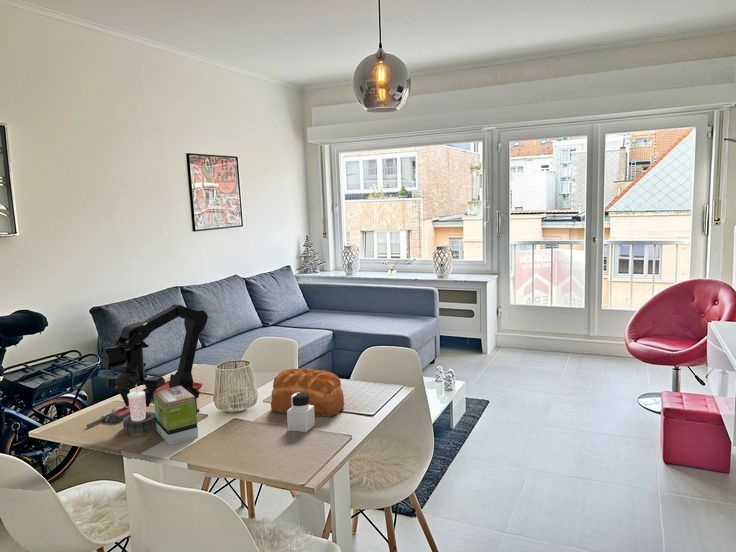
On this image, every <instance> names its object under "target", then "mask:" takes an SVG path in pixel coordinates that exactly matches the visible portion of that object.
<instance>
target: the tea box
mask: <svg viewBox="0 0 736 552" xmlns="http://www.w3.org/2000/svg"><path fill="white" fill-rule="evenodd" d="M153 395H154V398H153V402H154V403H153V405H154V413H155V416H156V427H157V429H156V431H157V433H158V434H159V435H160V436H161V437H162V439H163V440H164V441H165V442H166V443H167V444H168V445H169V446H171V445H175V444H179V443H184V442H187V441H192V440H194V439H197V438H199V430H198V417H197V413H196V402H195V396H194V395H192V394H191V393H190V392H188V391H187V390H186V389H185V388H183V387H182V386H177V387H172V388H168V389H163V390H159V391H153Z"/></svg>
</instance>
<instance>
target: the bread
mask: <svg viewBox="0 0 736 552" xmlns="http://www.w3.org/2000/svg"><path fill="white" fill-rule="evenodd" d="M272 388H273V389H272V391H271V402H270V408H271V410H272V411H273V412H274V413H280V414H287V410H289V409H290V408H291V407H292V404H291V396H292V395H293V394H295V393H299V392H304V393H307V394H308V395H309V405H314V413H315V416H316V417H334V416H335V415H337V414H338V413H339V412H341V411H342V410H343V408H344V407H345V398H344V392H343V389H342V384H341V378H340V377H339V376H338V375H336V374H335V373H333V372H331V371H328V370H323V369H322V370H320V369H319V370H317V369H314V368H312V369H311V368H289V369H284V370H282V371H281V372H279V373H278V374H277V375H276V376H275V378H274V380H273V385H272ZM340 410H341V411H340Z"/></svg>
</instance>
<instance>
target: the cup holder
mask: <svg viewBox="0 0 736 552" xmlns="http://www.w3.org/2000/svg"><path fill="white" fill-rule="evenodd" d="M122 425H123V428H122V429H120V430H119V431H117V433H116V435H117V436H123V435H124V436H125V435H126V436H127V437H129V436H131V437H145V436H146V437H147V436H149V435H151V432H152V433H153V432H155V431H157V427H156V416H155V412H153V411H146V418H145V419H144V420H141V421H132V420H131V415H129V416H126V417H125V418H123V422H122ZM148 434H149V435H148Z"/></svg>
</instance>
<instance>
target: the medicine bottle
mask: <svg viewBox="0 0 736 552" xmlns="http://www.w3.org/2000/svg"><path fill="white" fill-rule="evenodd" d="M291 404H292V407H291V408H290V409H289V410H287V413H286V420H287V421H286V422H287V431H290V432H297V431H298V432H299V433H307V432H309V431H310V430H311V429H312V428H313V427H314V426H316V418H315V413H314V405H309V395H308V394H307V393H304V392H299V393H295V394H293V395H292V396H291ZM308 430H309V431H308Z"/></svg>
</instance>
